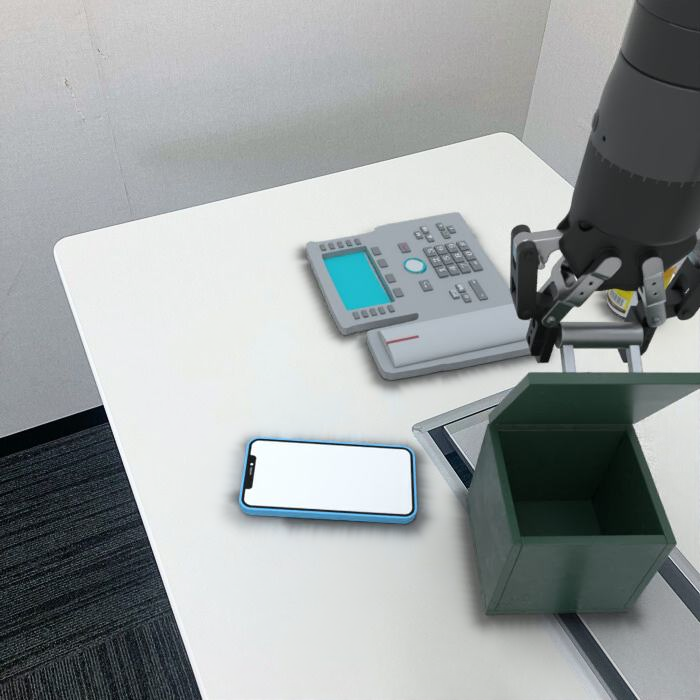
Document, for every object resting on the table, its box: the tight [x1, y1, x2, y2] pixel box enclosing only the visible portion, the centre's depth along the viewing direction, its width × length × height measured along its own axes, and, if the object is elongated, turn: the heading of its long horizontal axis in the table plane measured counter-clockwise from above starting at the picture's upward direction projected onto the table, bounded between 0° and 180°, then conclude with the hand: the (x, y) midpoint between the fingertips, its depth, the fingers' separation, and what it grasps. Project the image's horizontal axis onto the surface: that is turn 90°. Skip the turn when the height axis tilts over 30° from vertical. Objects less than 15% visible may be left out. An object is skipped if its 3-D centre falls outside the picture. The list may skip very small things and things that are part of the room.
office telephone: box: [305, 211, 531, 381], centre depth 83 cm, size 23×3×20 cm
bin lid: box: [487, 321, 700, 425], centre depth 53 cm, size 11×11×5 cm
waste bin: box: [465, 423, 678, 615], centre depth 58 cm, size 10×11×11 cm
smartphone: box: [238, 436, 418, 525], centre depth 66 cm, size 8×1×15 cm
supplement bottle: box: [606, 262, 679, 318], centre depth 80 cm, size 6×6×10 cm
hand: (582, 353), depth 54 cm, fingers closed on bin lid, 5 cm apart
